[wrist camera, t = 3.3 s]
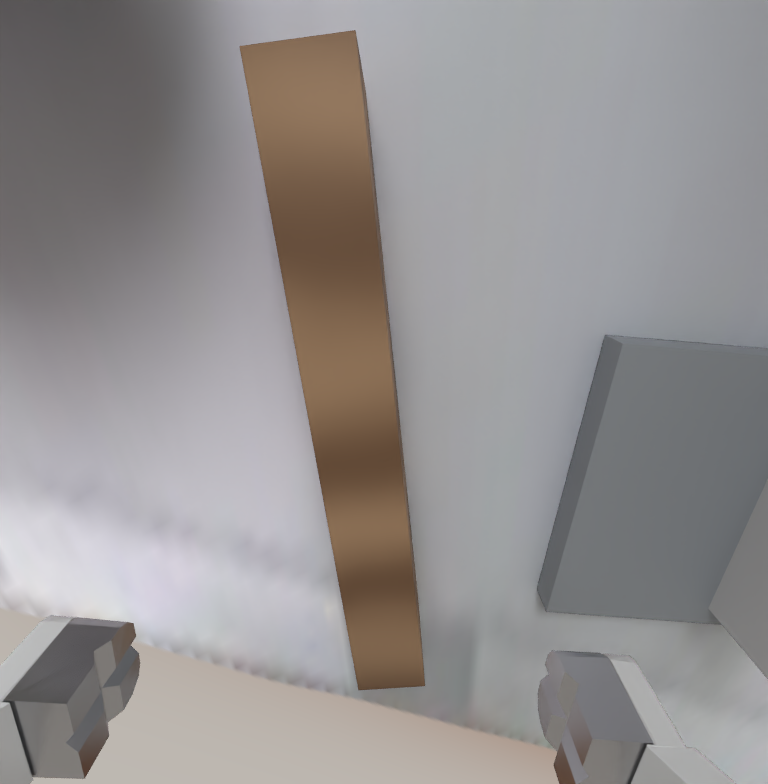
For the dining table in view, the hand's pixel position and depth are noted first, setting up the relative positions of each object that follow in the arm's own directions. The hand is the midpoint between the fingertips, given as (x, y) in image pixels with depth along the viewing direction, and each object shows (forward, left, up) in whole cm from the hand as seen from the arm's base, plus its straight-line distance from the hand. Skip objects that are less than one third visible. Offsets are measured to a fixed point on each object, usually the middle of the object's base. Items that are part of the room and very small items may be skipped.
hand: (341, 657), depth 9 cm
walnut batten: (-1, 0, -12) cm, 12 cm away
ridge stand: (+2, +19, -12) cm, 22 cm away
